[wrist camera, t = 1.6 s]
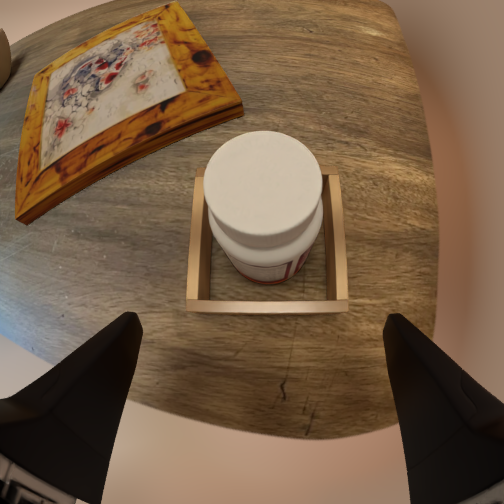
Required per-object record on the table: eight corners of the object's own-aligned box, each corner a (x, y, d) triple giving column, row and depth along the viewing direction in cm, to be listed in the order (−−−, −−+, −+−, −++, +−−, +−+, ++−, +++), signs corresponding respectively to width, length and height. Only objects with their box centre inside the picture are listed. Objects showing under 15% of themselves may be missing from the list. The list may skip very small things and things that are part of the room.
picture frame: (15, 219, 23) (34, 74, 31) (26, 225, 26) (40, 81, 33) (241, 100, 24) (176, 0, 32) (244, 115, 26) (179, 9, 34)
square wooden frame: (337, 314, 21) (348, 311, 18) (198, 313, 22) (185, 311, 19) (330, 186, 24) (337, 165, 20) (206, 187, 25) (196, 167, 21)
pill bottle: (283, 198, 24) (287, 103, 13) (321, 262, 22) (363, 203, 11) (216, 232, 23) (171, 156, 13) (251, 300, 22) (229, 275, 11)
